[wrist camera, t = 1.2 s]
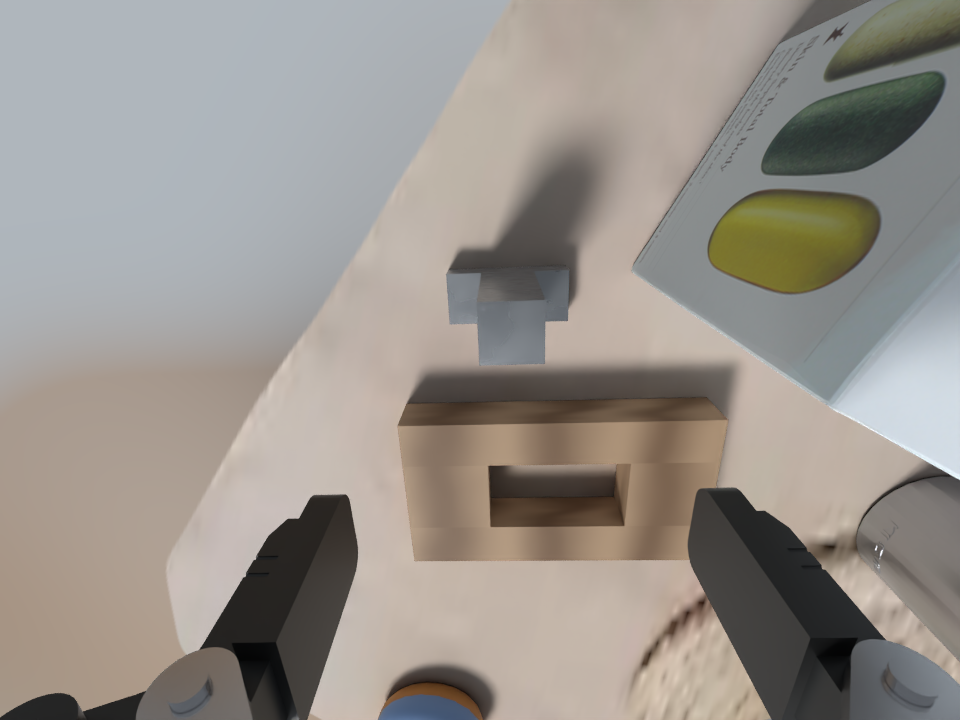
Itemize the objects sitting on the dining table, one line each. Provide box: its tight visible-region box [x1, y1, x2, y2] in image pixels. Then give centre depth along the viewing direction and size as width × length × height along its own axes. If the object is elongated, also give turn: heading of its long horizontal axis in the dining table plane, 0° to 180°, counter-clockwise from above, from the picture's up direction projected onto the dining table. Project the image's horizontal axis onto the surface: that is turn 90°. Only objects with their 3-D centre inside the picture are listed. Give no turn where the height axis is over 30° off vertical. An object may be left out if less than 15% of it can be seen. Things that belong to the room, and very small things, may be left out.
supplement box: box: [632, 0, 960, 480], centre depth 17 cm, size 13×13×18 cm
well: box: [398, 397, 728, 561], centre depth 31 cm, size 20×11×3 cm, turn 92°
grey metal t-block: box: [446, 265, 569, 365], centre depth 24 cm, size 7×3×8 cm, turn 92°
